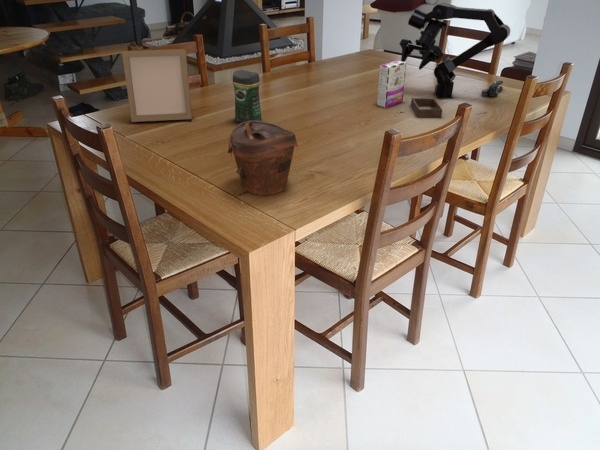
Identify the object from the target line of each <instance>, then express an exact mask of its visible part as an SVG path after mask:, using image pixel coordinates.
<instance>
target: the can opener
mask: <svg viewBox="0 0 600 450" xmlns="http://www.w3.org/2000/svg"><path fill="white" fill-rule="evenodd" d="M502 84H504V81H503V80H496V81H493V83H491V84H490V85H489V87H488V88H485V89H482V90H481V95H482V96H490V97H497V96H499V92H500V91H502V90H503V88H504V87H503V86H502Z"/></svg>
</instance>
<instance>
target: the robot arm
mask: <svg viewBox="0 0 600 450" xmlns="http://www.w3.org/2000/svg"><path fill="white" fill-rule="evenodd" d="M451 19H463V20H471V21H472V20H473V21H484V23H485V24H486V26H487V29H488V30H489V32H490V33H489V34H487V35H486V36H485V37H484V38H483V39H480V41H478V42H477V43H475V44H474V45H472V46H471V47H469V48H467V49H465V50H464V51H463V52H461V53H460V54H458V55H456V56H455V57H453V58H450V56H447V57H446V58H445V59H443V60H442V58H443V57H444V52H443V50H442V48H441V47H440V45H435V44H436V42H437V41H436V38H437V37H438V35H439V33H440V32H441V30H443V31H447V28H448V24H447V21H446V20H451ZM442 20H445V21H442ZM407 25H408V26H410V27H412V28H415V29H416V30H419V31H420V33H419V34H420V36H419V38H418V39H415V41H414V42H415V43H413V42H412V40H411V39H409V38H408V39H407V38H402V39H401V40H400V41H399V43H398V44H399V46H400V48H401V56H400V57H401V58H400V61H403V62H406V61H407V59H408V57H409V56H411V55H412V53H413V51H414V50H415V51H418V52H419V54H420V55H421V58H422V59H421V61H420V63H419V67H418V70H420V71H421V70H422V69H423V68H424V67H425V66H427V65H428V64H430V62H433V61H438V60H439V61H440V60H441V61H440V62H438V63H437V64H436V67H434V69H433V75H434V77H435V78H436V83H435V86H434V96H435V97H436V98H437V99H454V96H453V90H454V85H455V82H454V80H455V78H456V77H457V75H456V74H455V72H454V70H456V69H457V68H458V67H459V66H461V65H463V64H464V63H465V62H467V61H469V60H470V59H472V58H474V57H475V56H477V55H479V54H480V53H482V52H483V51H484V50H486V49H488V48H491V47H493V46H495V45H498V44H500V43H503V42H504V41H506V39H508V38H509V36H510V35H511V28H510V26H509V25H508V24H505V23H504V22H503V21H502V19H501V18H500V16H498V15H497V14H496V13H495V11H494V9H491V8H487V9H486V8H475V7H463V6H462V7H460V6H456V5H454V4H451V3H447V2H440V3H437V4H435V5H434V7H433V8H432V9H431V11H429V12H424V11H423V10H421V9H419V8H415V9H414V11H413V12H412V14H411V16H410V17H409V19H408V22H407Z"/></svg>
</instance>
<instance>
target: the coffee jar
mask: <svg viewBox="0 0 600 450" xmlns="http://www.w3.org/2000/svg"><path fill="white" fill-rule="evenodd" d="M260 85H261V79H260V74H259V73H258V72H253V71H249V70H243V69H238V70H236V71H234V72H233V74H232V86H233V89H234V90H233V91H234V105H235V106H234V120H235V121H236V122H237V123H239V124H241V123H243V122H246V121H262V111H261V101H260Z"/></svg>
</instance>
